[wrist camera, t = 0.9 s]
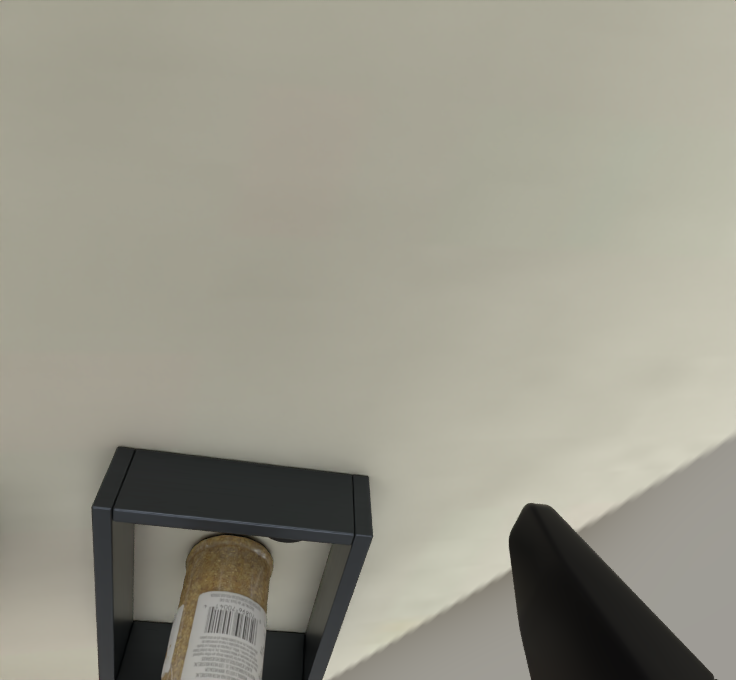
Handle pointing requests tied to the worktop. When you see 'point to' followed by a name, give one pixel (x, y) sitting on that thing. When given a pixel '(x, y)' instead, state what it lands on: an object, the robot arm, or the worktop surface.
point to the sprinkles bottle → (221, 612)
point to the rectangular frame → (227, 515)
